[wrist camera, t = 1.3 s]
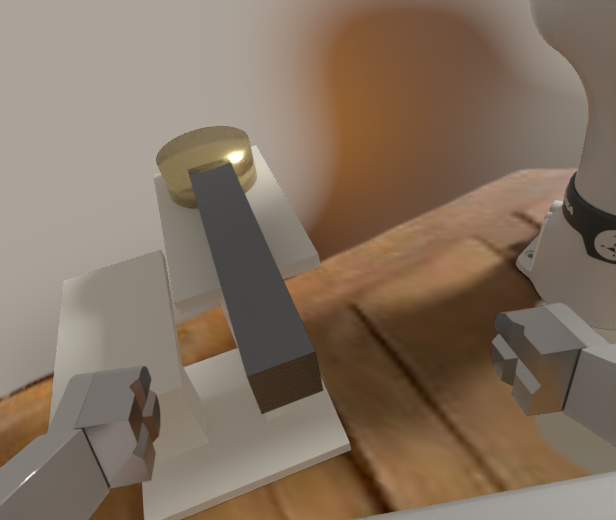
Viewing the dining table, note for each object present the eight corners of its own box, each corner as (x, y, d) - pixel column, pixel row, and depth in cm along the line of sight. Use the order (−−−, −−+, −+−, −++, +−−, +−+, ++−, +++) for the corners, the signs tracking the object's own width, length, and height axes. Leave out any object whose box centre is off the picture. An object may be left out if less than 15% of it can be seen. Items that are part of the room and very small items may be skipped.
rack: (140, 391, 54) (17, 214, 37) (300, 333, 57) (255, 145, 40) (150, 532, 43) (-23, 369, 25) (350, 449, 46) (318, 254, 28)
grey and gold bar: (165, 174, 39) (152, 141, 37) (246, 150, 40) (237, 118, 38) (219, 430, 21) (198, 394, 19) (363, 375, 22) (359, 335, 20)
